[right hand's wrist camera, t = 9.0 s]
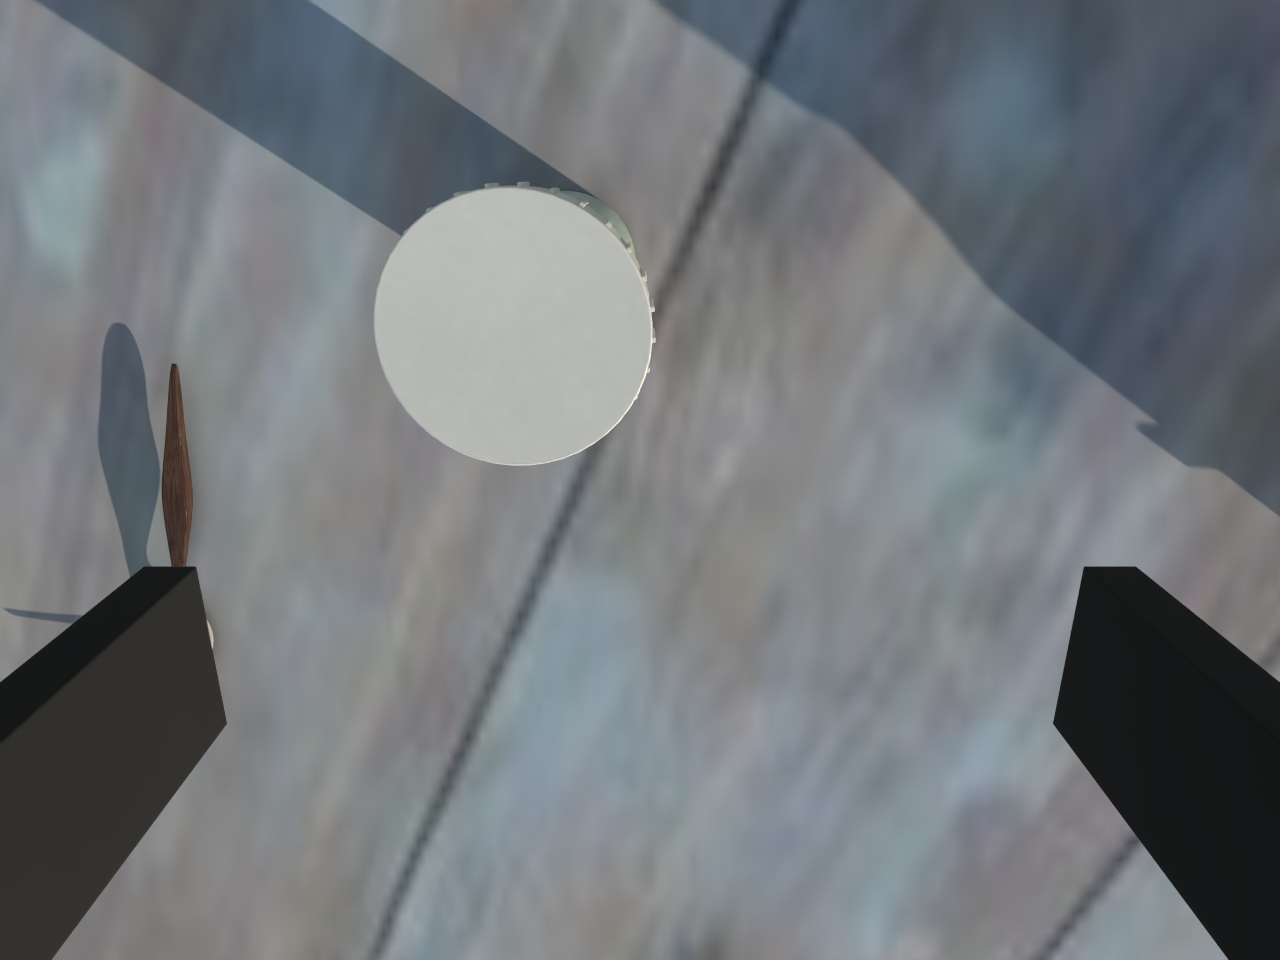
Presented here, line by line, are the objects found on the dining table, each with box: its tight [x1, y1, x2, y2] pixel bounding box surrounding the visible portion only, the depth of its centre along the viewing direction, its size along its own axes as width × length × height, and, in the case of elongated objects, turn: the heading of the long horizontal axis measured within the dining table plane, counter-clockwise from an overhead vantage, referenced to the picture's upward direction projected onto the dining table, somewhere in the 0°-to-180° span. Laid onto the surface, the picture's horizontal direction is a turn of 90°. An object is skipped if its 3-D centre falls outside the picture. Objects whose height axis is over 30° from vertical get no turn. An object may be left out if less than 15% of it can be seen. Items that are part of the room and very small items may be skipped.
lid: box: [373, 182, 656, 465], centre depth 19 cm, size 6×6×2 cm
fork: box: [162, 363, 213, 649], centre depth 36 cm, size 3×16×2 cm, turn 170°
